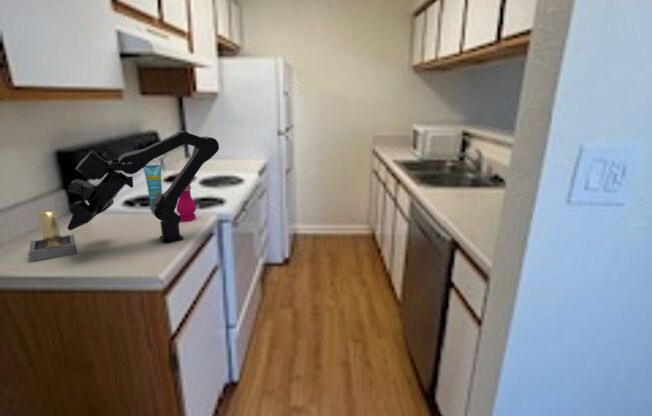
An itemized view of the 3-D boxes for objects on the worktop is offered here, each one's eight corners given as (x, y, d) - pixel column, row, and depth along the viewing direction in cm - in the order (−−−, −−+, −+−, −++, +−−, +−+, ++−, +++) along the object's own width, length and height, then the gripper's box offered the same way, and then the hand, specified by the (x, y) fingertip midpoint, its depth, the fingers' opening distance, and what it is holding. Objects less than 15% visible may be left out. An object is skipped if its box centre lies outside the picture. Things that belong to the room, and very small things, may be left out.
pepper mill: (184, 223, 148) (179, 171, 142) (174, 219, 152) (168, 169, 147) (200, 218, 153) (196, 169, 148) (190, 215, 157) (185, 167, 152)
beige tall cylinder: (63, 252, 119) (55, 212, 115) (46, 255, 116) (37, 214, 113) (63, 248, 122) (55, 209, 119) (46, 251, 120) (37, 211, 117)
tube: (147, 210, 166) (141, 166, 161) (149, 207, 171) (143, 164, 165) (165, 209, 168) (160, 165, 163) (167, 206, 172) (162, 163, 167)
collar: (77, 253, 118) (75, 244, 117) (31, 262, 112) (29, 252, 111) (75, 242, 127) (73, 234, 126) (32, 250, 121) (30, 241, 120)
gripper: (97, 165, 124) (66, 200, 125) (70, 176, 106) (34, 216, 107) (127, 188, 127) (96, 222, 128) (106, 202, 109) (70, 241, 111)
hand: (75, 224), depth 119 cm, fingers open, 9 cm apart
